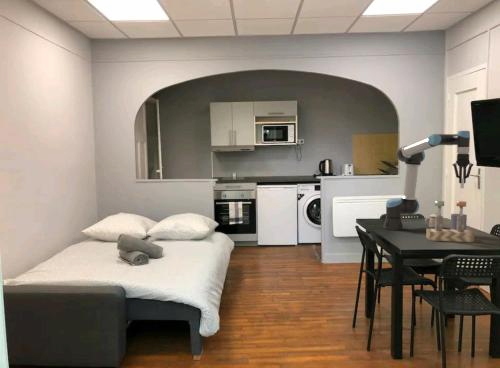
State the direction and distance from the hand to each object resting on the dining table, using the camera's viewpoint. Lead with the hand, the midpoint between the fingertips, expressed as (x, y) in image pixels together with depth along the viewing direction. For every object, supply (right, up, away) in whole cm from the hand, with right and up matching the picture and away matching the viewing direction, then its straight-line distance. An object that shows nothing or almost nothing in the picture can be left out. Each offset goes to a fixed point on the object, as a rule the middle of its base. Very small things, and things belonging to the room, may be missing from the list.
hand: (462, 188), depth 295 cm
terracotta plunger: (0, -24, +2) cm, 24 cm away
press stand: (-7, -36, +4) cm, 37 cm away
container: (+7, -35, +20) cm, 41 cm away
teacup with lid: (+3, -32, +53) cm, 62 cm away
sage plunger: (-14, -23, +5) cm, 27 cm away
